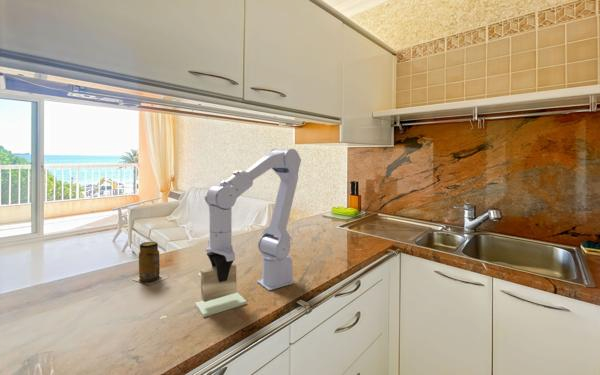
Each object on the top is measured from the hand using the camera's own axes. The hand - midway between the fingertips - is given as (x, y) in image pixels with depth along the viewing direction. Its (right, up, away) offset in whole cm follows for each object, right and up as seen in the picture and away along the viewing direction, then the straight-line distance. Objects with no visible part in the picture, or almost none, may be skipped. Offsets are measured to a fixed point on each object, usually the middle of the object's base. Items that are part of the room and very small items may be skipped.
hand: (220, 278), depth 76 cm
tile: (-6, -6, +15) cm, 17 cm away
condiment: (-28, -6, +17) cm, 33 cm away
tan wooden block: (0, -5, 0) cm, 5 cm away
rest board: (0, -7, +1) cm, 7 cm away
